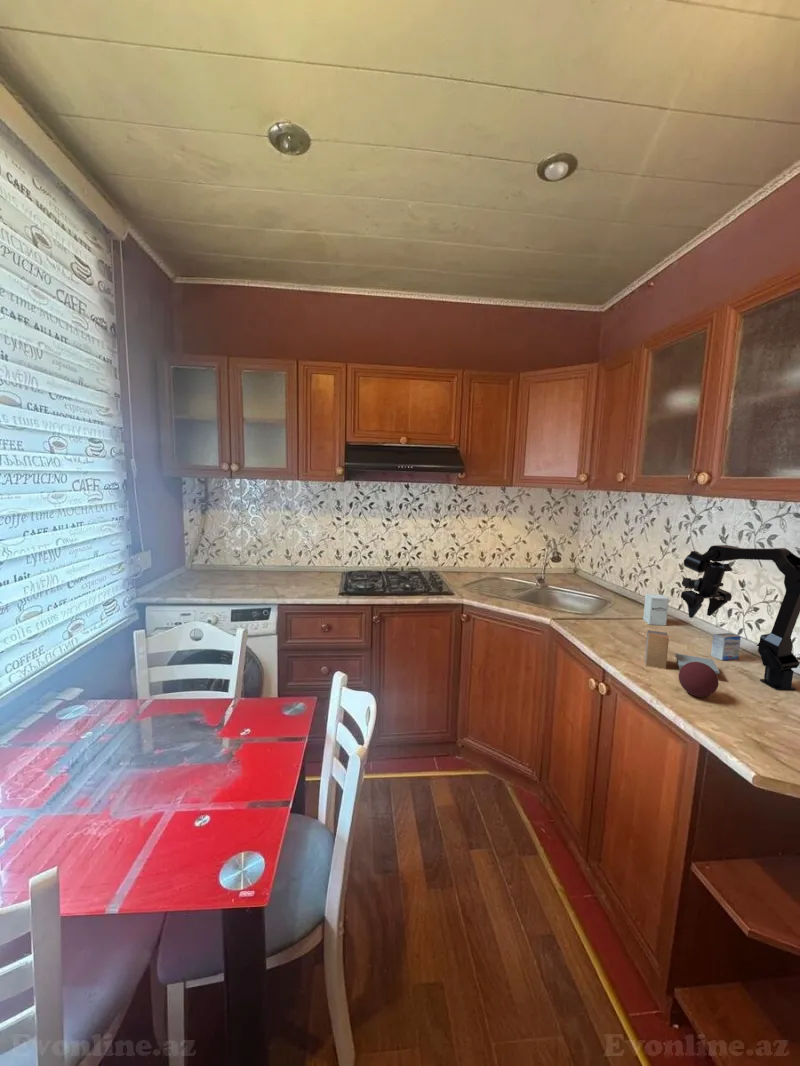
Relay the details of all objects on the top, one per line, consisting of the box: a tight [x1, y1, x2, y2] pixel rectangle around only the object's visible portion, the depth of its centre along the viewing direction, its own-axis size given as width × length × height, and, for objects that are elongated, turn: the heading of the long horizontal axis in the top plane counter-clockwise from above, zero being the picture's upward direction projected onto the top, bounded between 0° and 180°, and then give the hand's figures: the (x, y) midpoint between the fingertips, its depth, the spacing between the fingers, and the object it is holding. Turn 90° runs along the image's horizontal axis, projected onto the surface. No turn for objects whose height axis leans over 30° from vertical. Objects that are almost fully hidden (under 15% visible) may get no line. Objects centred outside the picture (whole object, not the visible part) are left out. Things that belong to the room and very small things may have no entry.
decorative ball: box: [678, 662, 719, 698], centre depth 134 cm, size 10×10×10 cm
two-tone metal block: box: [644, 629, 670, 670], centre depth 156 cm, size 6×6×11 cm
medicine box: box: [710, 632, 741, 661], centre depth 163 cm, size 8×4×9 cm, turn 105°
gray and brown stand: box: [675, 653, 720, 675], centre depth 151 cm, size 11×11×3 cm
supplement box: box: [642, 593, 670, 626], centre depth 201 cm, size 7×7×13 cm
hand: (699, 616), depth 166 cm, fingers open, 9 cm apart
